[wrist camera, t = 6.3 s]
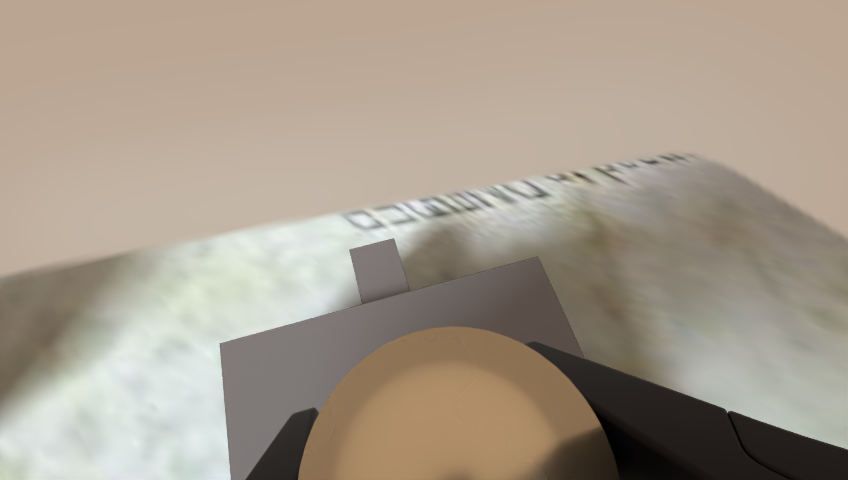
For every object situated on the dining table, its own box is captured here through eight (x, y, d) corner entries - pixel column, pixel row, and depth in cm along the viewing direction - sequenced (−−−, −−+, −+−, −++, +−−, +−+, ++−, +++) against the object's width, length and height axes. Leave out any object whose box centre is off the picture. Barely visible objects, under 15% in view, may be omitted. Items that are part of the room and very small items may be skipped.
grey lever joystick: (617, 588, 15) (718, 648, 10) (319, 708, 13) (261, 849, 8) (487, 262, 20) (510, 196, 15) (267, 322, 19) (213, 270, 14)
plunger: (503, 518, 14) (690, 626, 4) (391, 559, 13) (329, 779, 4) (466, 401, 15) (543, 294, 6) (365, 433, 15) (274, 372, 5)
